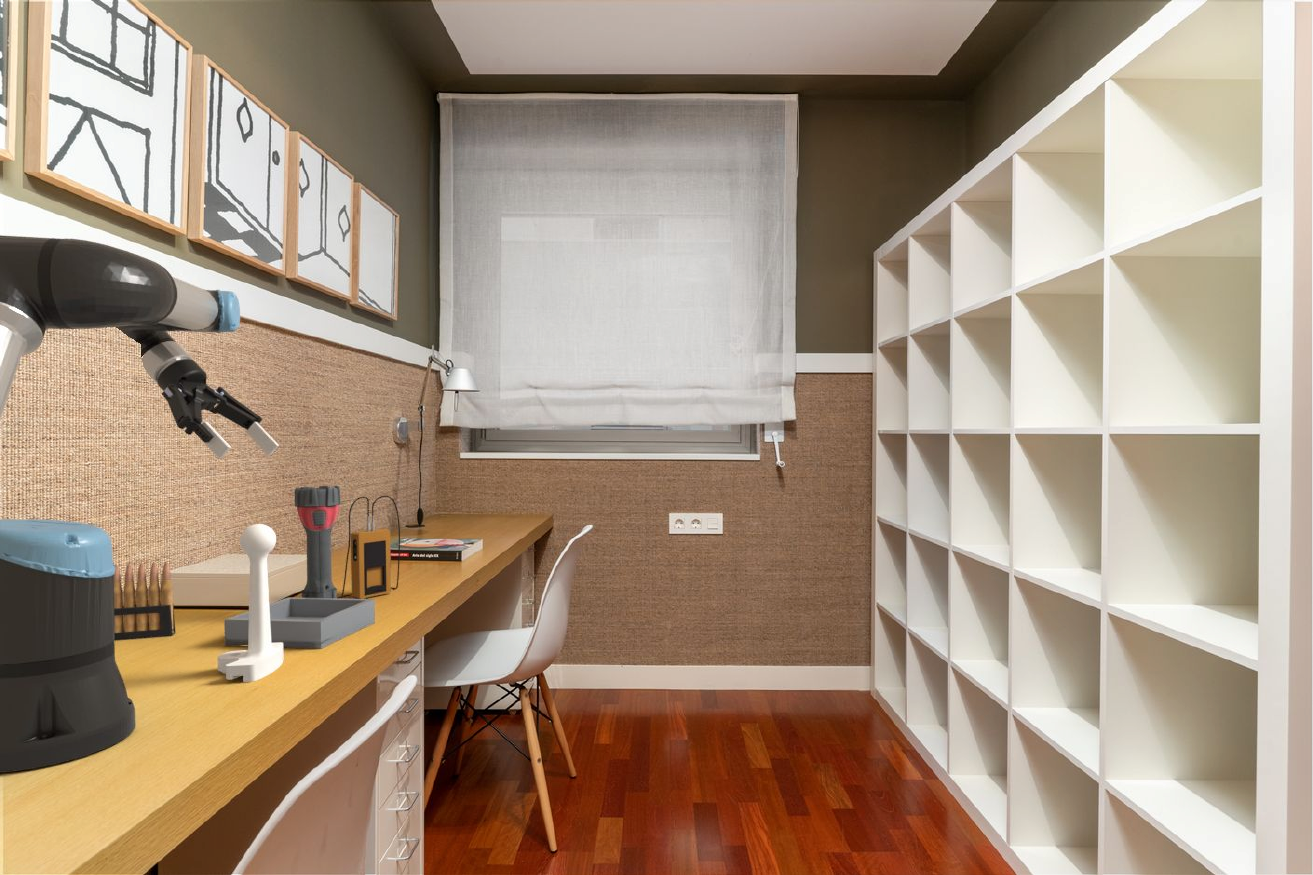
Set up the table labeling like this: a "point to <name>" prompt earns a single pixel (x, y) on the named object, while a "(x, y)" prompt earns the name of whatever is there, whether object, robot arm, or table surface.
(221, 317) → the robot arm
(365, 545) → the multimeter
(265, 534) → the joystick
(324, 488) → the flashlight
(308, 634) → the tray
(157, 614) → the ammunition clip
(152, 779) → the table surface
